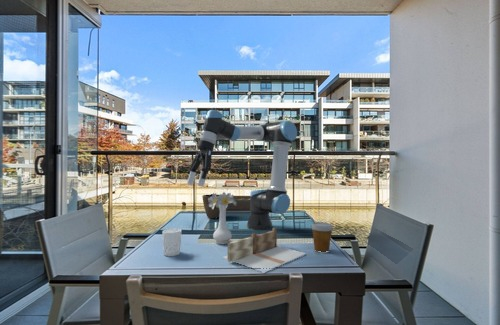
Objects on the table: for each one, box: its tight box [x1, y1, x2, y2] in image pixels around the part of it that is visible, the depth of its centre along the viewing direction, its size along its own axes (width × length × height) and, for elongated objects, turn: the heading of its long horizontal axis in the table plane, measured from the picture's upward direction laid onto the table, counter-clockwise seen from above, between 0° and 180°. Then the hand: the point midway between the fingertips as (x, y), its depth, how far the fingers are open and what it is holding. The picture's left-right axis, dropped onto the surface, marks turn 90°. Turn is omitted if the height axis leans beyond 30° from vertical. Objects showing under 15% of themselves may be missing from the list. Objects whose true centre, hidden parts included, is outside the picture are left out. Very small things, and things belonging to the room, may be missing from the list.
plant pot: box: [201, 193, 220, 219], centre depth 195 cm, size 15×15×16 cm
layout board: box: [223, 245, 307, 269], centre depth 115 cm, size 28×22×1 cm
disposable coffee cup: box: [310, 221, 334, 252], centre depth 124 cm, size 10×10×12 cm
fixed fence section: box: [251, 227, 278, 254], centre depth 122 cm, size 16×2×8 cm, turn 137°
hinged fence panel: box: [227, 236, 253, 263], centre depth 111 cm, size 13×2×7 cm, turn 137°
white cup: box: [162, 228, 182, 257], centre depth 117 cm, size 8×8×10 cm
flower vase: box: [208, 191, 237, 245], centre depth 135 cm, size 13×18×25 cm
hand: (194, 185), depth 125 cm, fingers open, 13 cm apart
